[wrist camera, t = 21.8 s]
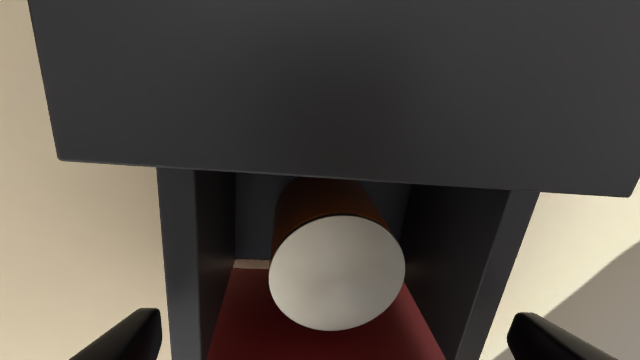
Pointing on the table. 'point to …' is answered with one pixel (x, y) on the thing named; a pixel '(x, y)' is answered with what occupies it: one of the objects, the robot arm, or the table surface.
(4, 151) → the table surface
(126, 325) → the robot arm
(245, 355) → the pod drawer
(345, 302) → the brown short cylinder
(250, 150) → the drawer cabinet
